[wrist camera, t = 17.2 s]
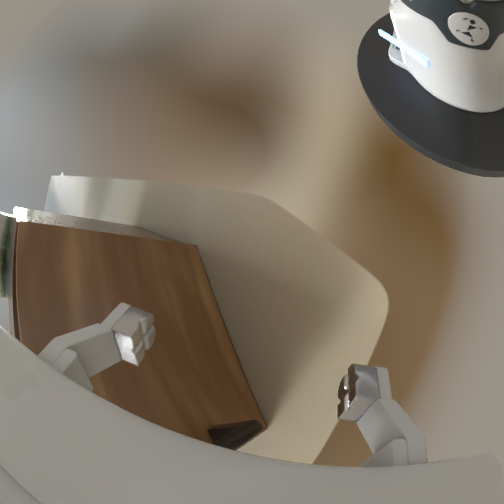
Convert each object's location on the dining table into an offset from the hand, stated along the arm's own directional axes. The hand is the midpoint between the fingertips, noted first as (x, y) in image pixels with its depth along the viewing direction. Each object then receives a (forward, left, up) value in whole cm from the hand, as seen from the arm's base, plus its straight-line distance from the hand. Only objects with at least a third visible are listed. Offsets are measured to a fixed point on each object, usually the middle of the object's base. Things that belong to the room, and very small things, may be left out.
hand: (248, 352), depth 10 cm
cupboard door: (+7, -12, -17) cm, 22 cm away
